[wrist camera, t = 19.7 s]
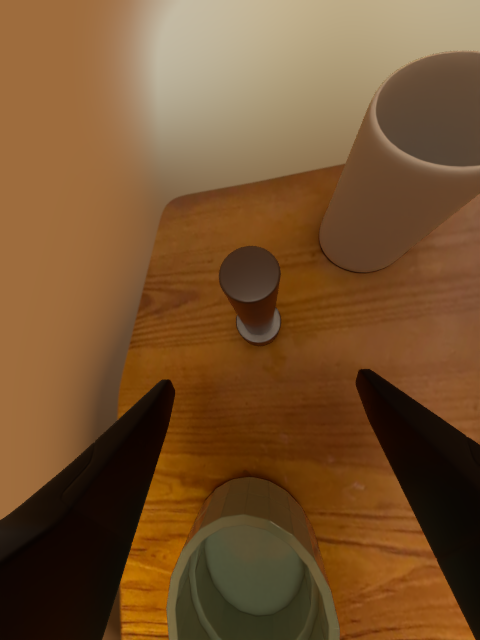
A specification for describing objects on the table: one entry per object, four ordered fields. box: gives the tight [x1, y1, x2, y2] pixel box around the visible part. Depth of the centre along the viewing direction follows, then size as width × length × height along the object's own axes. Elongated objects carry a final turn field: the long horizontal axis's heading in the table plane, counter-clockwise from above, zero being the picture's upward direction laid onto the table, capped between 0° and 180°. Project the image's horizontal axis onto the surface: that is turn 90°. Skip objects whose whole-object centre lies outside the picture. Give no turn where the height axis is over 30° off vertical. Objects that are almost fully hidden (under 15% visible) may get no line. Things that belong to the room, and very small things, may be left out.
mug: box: [319, 51, 480, 272], centre depth 16 cm, size 12×8×11 cm
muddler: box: [219, 246, 281, 346], centre depth 14 cm, size 4×4×12 cm
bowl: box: [167, 477, 340, 640], centre depth 14 cm, size 10×10×5 cm
